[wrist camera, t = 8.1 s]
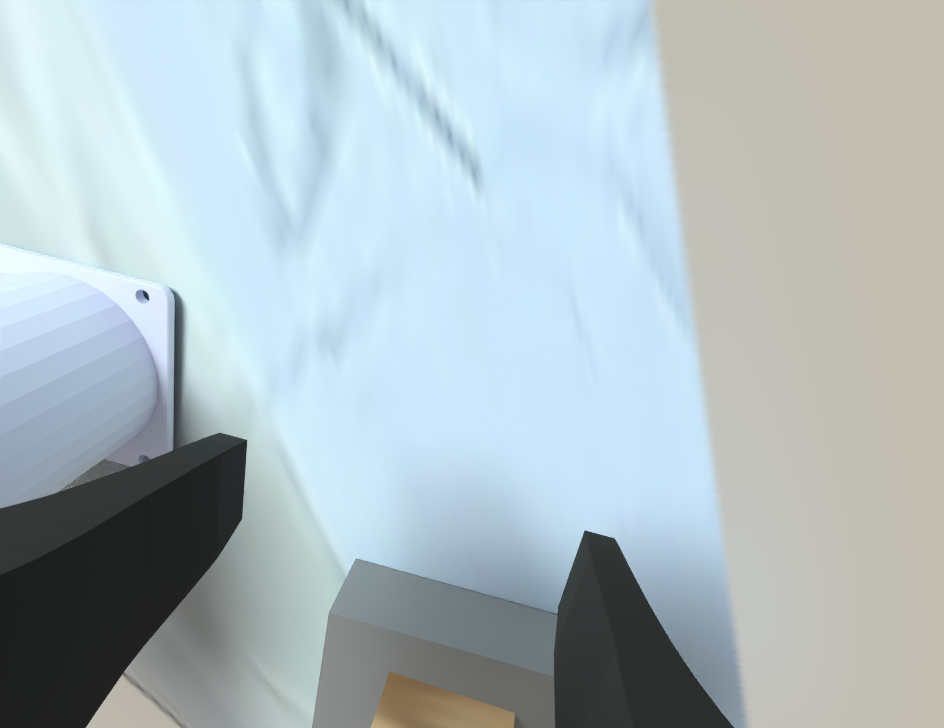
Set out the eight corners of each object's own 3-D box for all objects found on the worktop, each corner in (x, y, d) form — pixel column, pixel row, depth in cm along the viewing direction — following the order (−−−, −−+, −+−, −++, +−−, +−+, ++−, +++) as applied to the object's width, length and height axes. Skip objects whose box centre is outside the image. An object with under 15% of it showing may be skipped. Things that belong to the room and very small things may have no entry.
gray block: (329, 719, 29) (304, 781, 26) (355, 558, 25) (329, 611, 22) (531, 779, 28) (527, 849, 26) (590, 624, 25) (593, 687, 22)
